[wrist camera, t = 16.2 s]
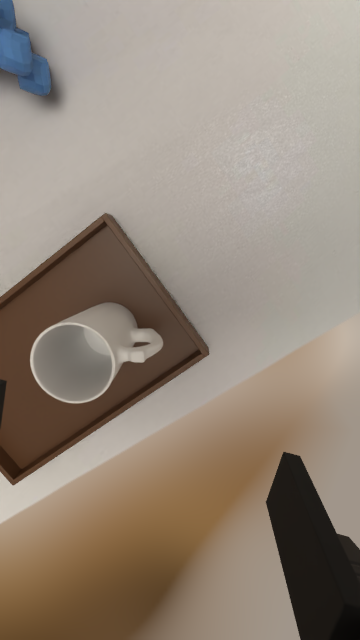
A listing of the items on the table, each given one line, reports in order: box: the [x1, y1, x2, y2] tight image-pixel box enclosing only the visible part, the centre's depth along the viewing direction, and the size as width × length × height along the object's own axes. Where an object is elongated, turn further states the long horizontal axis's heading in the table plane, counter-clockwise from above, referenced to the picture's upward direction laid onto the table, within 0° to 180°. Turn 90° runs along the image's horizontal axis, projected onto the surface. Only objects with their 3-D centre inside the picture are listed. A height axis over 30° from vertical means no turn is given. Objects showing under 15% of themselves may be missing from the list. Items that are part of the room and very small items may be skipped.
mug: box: [30, 302, 163, 403], centre depth 32 cm, size 10×7×12 cm, turn 92°
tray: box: [0, 213, 209, 485], centre depth 38 cm, size 29×18×2 cm, turn 126°
